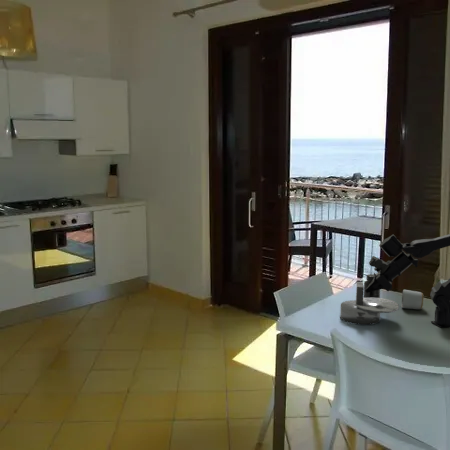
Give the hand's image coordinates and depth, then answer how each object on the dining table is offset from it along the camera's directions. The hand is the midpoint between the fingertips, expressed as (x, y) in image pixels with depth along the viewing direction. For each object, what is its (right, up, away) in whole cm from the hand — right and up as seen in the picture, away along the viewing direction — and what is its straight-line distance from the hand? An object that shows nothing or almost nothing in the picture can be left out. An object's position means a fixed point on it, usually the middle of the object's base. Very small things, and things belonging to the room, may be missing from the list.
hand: (365, 291), depth 198 cm
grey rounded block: (+23, -9, +16) cm, 30 cm away
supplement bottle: (+9, -8, +23) cm, 26 cm away
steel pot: (-2, -11, +2) cm, 11 cm away
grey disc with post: (+4, -6, 0) cm, 7 cm away
